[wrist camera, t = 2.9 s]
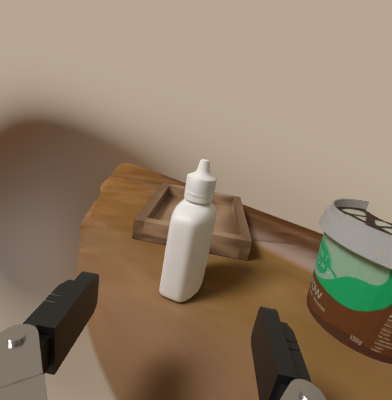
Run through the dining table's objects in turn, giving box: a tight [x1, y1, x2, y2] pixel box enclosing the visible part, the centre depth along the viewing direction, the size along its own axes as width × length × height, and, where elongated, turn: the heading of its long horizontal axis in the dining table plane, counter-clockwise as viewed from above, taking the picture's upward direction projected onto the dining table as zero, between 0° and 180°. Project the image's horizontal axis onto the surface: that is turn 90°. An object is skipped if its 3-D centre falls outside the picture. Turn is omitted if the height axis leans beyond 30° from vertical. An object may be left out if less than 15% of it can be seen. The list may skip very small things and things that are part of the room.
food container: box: [307, 199, 392, 364], centre depth 23 cm, size 12×6×10 cm, turn 176°
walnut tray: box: [132, 183, 252, 260], centre depth 40 cm, size 14×18×2 cm
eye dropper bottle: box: [159, 159, 217, 302], centre depth 23 cm, size 4×6×12 cm
